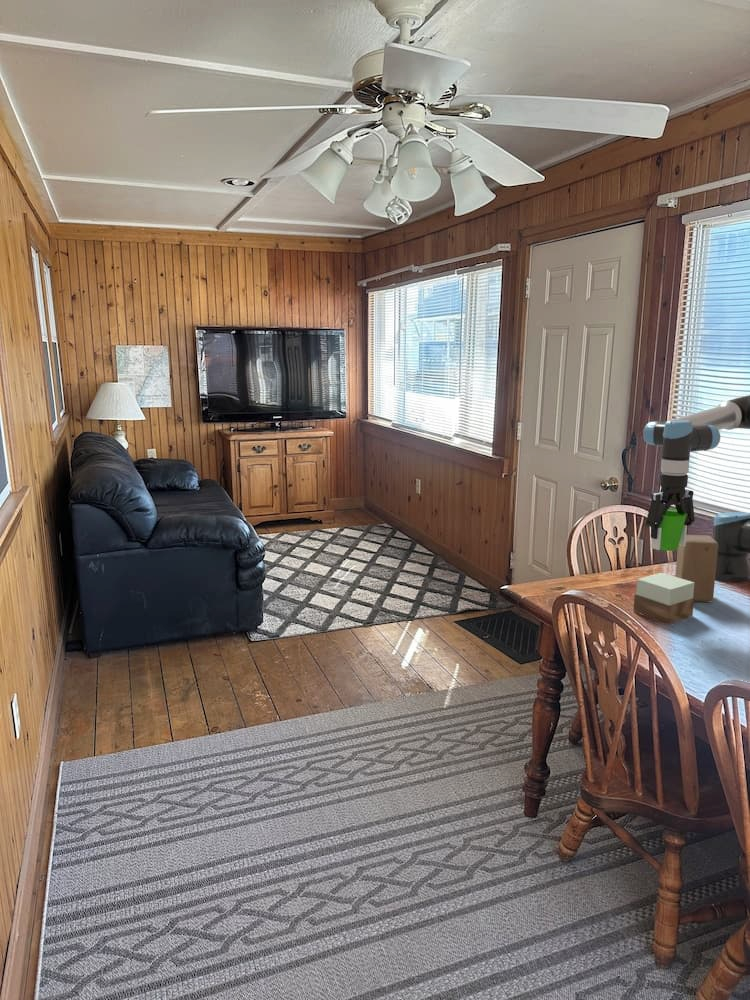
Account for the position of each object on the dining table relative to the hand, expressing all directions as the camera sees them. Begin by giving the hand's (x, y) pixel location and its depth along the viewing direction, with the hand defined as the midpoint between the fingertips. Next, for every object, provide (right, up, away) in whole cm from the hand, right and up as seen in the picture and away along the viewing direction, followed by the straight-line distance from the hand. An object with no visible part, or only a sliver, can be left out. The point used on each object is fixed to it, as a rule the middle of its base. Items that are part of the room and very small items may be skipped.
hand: (668, 547), depth 204 cm
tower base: (0, -21, +4) cm, 22 cm away
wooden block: (+16, -18, +19) cm, 30 cm away
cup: (0, -1, 0) cm, 1 cm away
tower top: (0, -15, +3) cm, 16 cm away
